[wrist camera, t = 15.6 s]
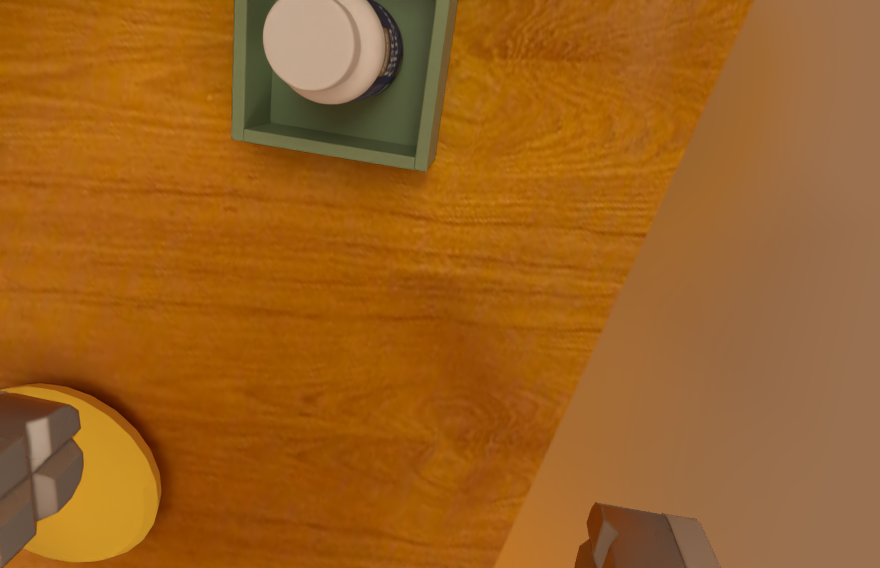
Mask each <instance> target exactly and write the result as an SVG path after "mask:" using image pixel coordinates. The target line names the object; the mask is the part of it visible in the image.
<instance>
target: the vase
mask: <svg viewBox="0 0 880 568" xmlns="http://www.w3.org/2000/svg"><path fill="white" fill-rule="evenodd" d="M1 391H6V392H9V393H12V392H13V393H18V394H22V395H27V396H32V397H37V398H41V399H46V400H51V401H56V402H61V403H65V404H70V405H72V406H73V407H75V408H76V409H77V410H79V416H80V424H81V429H80V430H79V432H78V433H77V434H76V435H75V436H74V437H73V439H74V441H75V442H76V443H77V445H78V446H79V447H80V449H81V450H82V451H83V458H84V468H83V473H82V478H81V481H80V483H79V485H78V487H77V489H76V491H75V493H74V495H73V496H72V498H71V500H70V501H69V502H68V503H67V504H66V505H65V506H64V507H63V508H62V509H61V510H60V511H59V512H58V513H56V514H54V515H51V516H49V517H47V518H44V519H42V520H40V521H38V522H37V533H36V535H35V536H34V537H33V538H32V539H31V540H30V541H29V542H28V543H27V544H26V545H25V546H24V547H23V548H24V549H26V550H27V551H30V552H33V553H36V554H38V555H41V556H44V557H47V558H50V559H54V560H61V561H68V562H74V563H75V562H90V561H99V560H105V559H108V558H111V557H114V556H117V555H120V554H123V553H126V552H128V551H129V550H131V549H132V548H133V547H135V546H136V545H137V544H139V543H140V542H141V541H143V539H144V538H145V536H146V535H147V533H148V532H149V530H150V529H151V527H152V526H153V524H154V521H155V518H156V514H157V511H158V506H159V502H160V498H161V493H162V492H161V482H160V472H159V469H158V467H157V464H156V462H155V459H154V457H153V454H152V452H151V450H150V448H149V447H148V445H147V444H146V443H145V441H144V440H143V438H142V437H141V435H140V434H139V433H138V431H137V430H136V429H135V428H134V427H133V426H132V425H131V424H130V423H129V422H128V421H127V420H126V419H125V418H123V417H122V416H121V415H120V414H119V413H118V412H117V411H116V410H114V409H113V408H111V407H109V406H108V405H106V404H104V403H103V402H101V401H100V400H98V399H96V398H95V397H93V396H91V395H88V394H85V393H83V392H80V391H77V390H74V389H72V388H69V387H66V386H59V385H51V384H44V383H36V384H27V385H19V386H14V387H9V388H5V389H1Z"/></svg>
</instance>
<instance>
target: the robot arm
mask: <svg viewBox="0 0 880 568" xmlns="http://www.w3.org/2000/svg"><path fill="white" fill-rule="evenodd" d="M80 429H81V424H80V416H79V410H77V409H76V408H75V407H73V406H72V405H70V404H65V403H61V402H56V401H51V400H46V399H41V398H37V397H32V396H27V395H22V394H18V393H13V392H12V393H9V392H6V391H1V390H0V568H3V567H4V566H5V565H6V564H7V563H8V562H9V561H10V560H11V559H12V558H13V557H14V556H15V555H16V554H17V553H18V552H19V551H20V550H21V549H22V548H23V547H24V546H25V545H26V544H27V543H28V542H29V541H30V540H31V539H32V538H33V537H34V536H35V535H36V533H37V522H38V521H40V520H42V519H44V518H47V517H49V516H51V515H54V514H56V513H58V512H59V511H60V510H61V509H62V508H63V507H64V506H65V505H66V504H67V503H68V502H69V501H70V500H71V498H72V496H73V495H74V493H75V491H76V489H77V487H78V485H79V483H80V481H81V478H82V473H83V468H84V458H83V451H82V450H81V449H80V447H79V446H78V445H77V443H76V442H75V441H74V439H73V437H74V436H75V435H76V434H77V433H78V432H79V430H80ZM587 528H588V533H589V540H587V541H586V542H585V543H583V544H582V545H580V547H579V550H578V554H577V558H576V562H575V568H721V567H720V565H719V563H718V560H717V558H716V556H715V554H714V552H713V549H712V547H711V545H710V543H709V540H708V538H707V536H706V534H705V532H704V530H703V527H702V525H701V523H699V522H698V521H697V520H696V519H694V518H687V517H682V516H675V515H668V514H663V513H662V514H657V513H651V512H645V511H640V510H634V509H629V508H623V507H618V506H612V505H606V504H601V503H596V502H595V504H594V505H593V507H592V509H591V511H590V514H589V517H588V520H587Z"/></svg>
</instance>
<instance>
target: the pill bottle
mask: <svg viewBox="0 0 880 568" xmlns="http://www.w3.org/2000/svg"><path fill="white" fill-rule="evenodd" d="M263 45H264V50H265V54H266V57H267V60H268V62H269V64H270V65H271V67H272V69H273V70H274V72H275V73H276V74H277V75H278V76H279V77H280V78H281V79H282V80H283V81H285V82H286V83H287V84H288V85H289V86H290V87H291V88H292V89H293V90H294V91H296V92H297V93H298V94H300V95H301V96H303V97H305V98H306V99H309V100H311V101H314V102H317V103H322V104H342V103H347V102H352V101H357V100H362V99H367V98H371V97H374V96H376V95H378V94H380V93H382V92H383V91H385V90H386V89H387V88H388V87H389V86H390V85H391V84H392V83H393V82H394V81H395V79H396V78H397V76H398V74H399V72H400V70H401V67H402V64H403V59H404V42H403V37H402V33H401V30H400V28H399V26H398V24H397V22H396V21H395V19H394V18H393V16H392V15H391V14H390V13H389V12H388V11H387V10H386V9H385V8H384V7H383V6H381V5H380V4H379V3H377V2H375V1H373V0H278V1H277V2H276V3H275V5H274V6H273V7H272V8H271V10H270V12H269V13H268V15H267V18H266V21H265V24H264V29H263Z"/></svg>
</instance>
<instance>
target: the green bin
mask: <svg viewBox="0 0 880 568" xmlns="http://www.w3.org/2000/svg"><path fill="white" fill-rule="evenodd" d="M277 1H278V0H234V44H233V89H232V135H231V138H232V139H233V140H238V141H244V142H249V143H255V144H261V145H267V146H273V147H279V148H285V149H291V150H296V151H302V152H308V153H314V154H320V155H326V156H332V157H338V158H344V159H350V160H356V161H362V162H368V163H374V164H380V165H386V166H392V167H398V168H404V169H410V170H413V169H414V170H416V171H422V172H426V171H427V169H428V168H429V166H430V165H431V164H432V162H433V161H434V160H435V155H436V148H437V141H438V134H439V128H440V121H441V114H442V107H443V100H444V93H445V86H446V79H447V72H448V65H449V58H450V52H451V45H452V38H453V31H454V24H455V17H456V10H457V3H458V0H373V1H375V2H377V3H379V4H380V5H381V6H383V7H384V8H385V9H386V10H387V11H388V12H389V13H390V14H391V15H392V16H393V18H394V19H395V21H396V22H397V24H398V26H399V28H400V30H401V33H402V37H403V42H404V59H403V64H402V67H401V70H400V72H399V74H398V76H397V78H396V79H395V81H394V82H393V83H392V84H391V85H390V86H389V87H388V88H387V89H386V90H385V91H383V92H382V93H380V94H378V95H376V96H374V97H371V98H367V99H362V100H357V101H352V102H347V103H342V104H322V103H317V102H314V101H311V100H309V99H306V98H305V97H303V96H301V95H300V94H298V93H297V92H296V91H294V90H293V89H292V88H291V87H290V86H289V85H288V84H287V83H286V82H285V81H283V80H282V79H281V78H280V77H279V76H278V75H277V74H276V73H275V72H274V70H273V69H272V67H271V65H270V64H269V62H268V60H267V57H266V54H265V50H264V45H263V29H264V24H265V21H266V18H267V15H268V13H269V12H270V10H271V8H272V7H273V6H274V5H275V3H276V2H277Z"/></svg>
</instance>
